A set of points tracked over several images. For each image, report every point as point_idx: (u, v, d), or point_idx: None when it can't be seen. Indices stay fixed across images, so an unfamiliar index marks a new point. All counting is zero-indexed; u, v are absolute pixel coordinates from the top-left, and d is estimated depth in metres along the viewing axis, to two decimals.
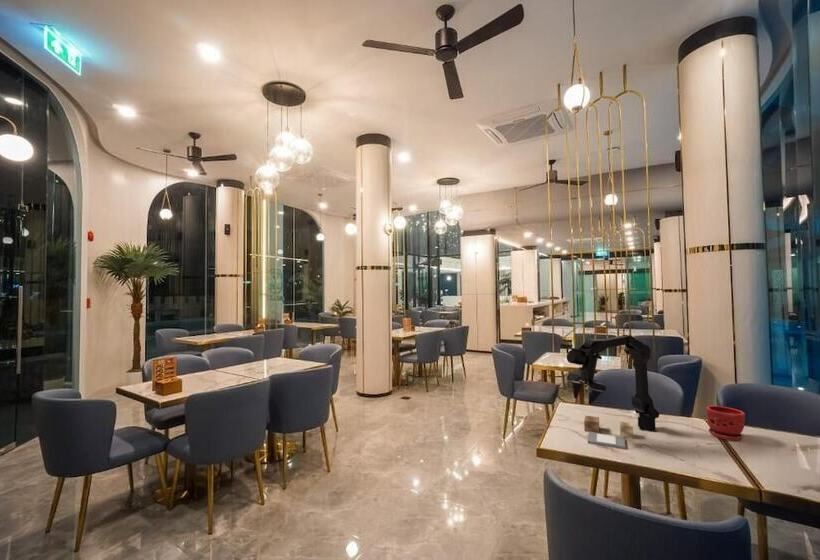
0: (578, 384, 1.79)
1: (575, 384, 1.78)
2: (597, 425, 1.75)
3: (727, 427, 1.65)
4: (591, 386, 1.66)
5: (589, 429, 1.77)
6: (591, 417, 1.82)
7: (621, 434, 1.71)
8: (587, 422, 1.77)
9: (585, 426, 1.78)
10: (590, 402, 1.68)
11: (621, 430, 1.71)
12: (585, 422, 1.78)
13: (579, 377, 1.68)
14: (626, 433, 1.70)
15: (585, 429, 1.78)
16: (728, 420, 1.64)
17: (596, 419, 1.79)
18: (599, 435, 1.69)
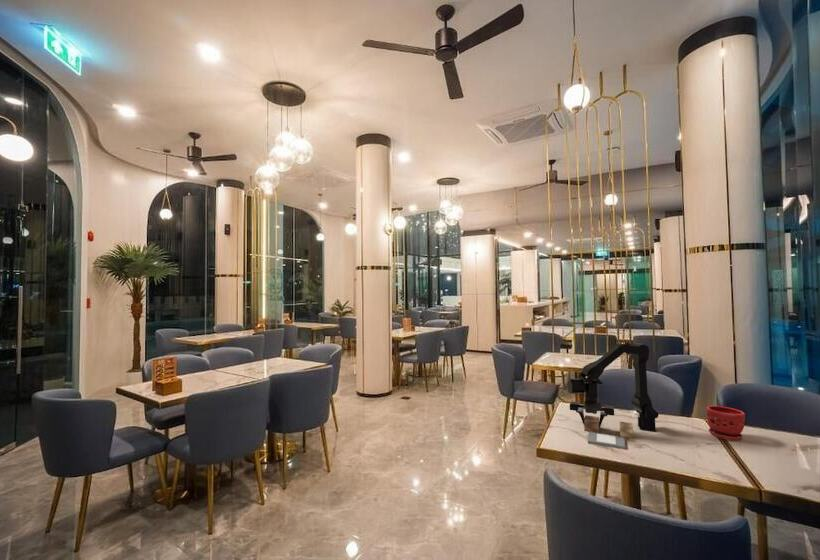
0: (583, 411, 1.82)
1: (583, 413, 1.81)
2: (597, 425, 1.75)
3: (727, 427, 1.65)
4: (608, 413, 1.74)
5: (589, 428, 1.77)
6: (591, 417, 1.82)
7: (621, 434, 1.71)
8: (587, 422, 1.77)
9: (585, 426, 1.77)
10: (600, 425, 1.78)
11: (621, 430, 1.71)
12: (585, 422, 1.77)
13: (600, 409, 1.72)
14: (626, 433, 1.70)
15: (585, 429, 1.77)
16: (728, 420, 1.64)
17: (596, 419, 1.79)
18: (599, 435, 1.69)
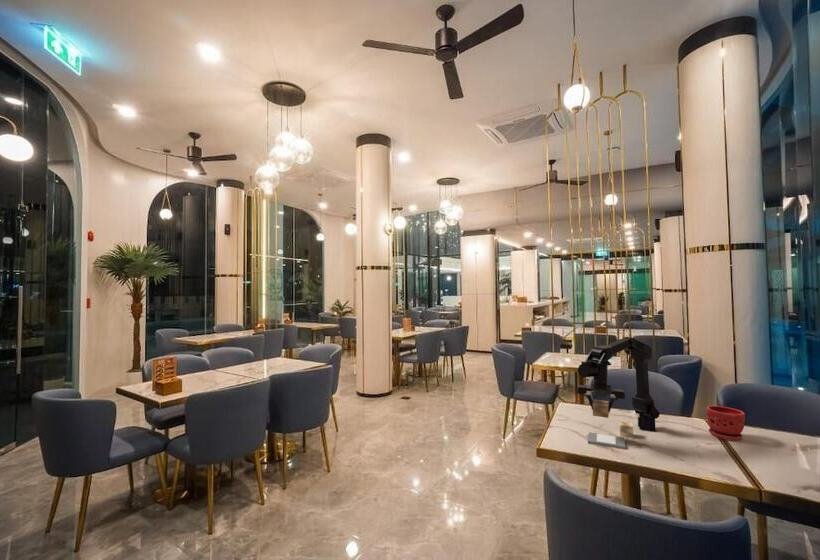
0: (591, 395, 1.72)
1: (591, 396, 1.71)
2: (606, 409, 1.65)
3: (727, 427, 1.65)
4: (618, 396, 1.64)
5: (598, 413, 1.67)
6: (600, 401, 1.72)
7: (621, 434, 1.71)
8: (596, 406, 1.67)
9: (593, 410, 1.67)
10: None
11: (621, 430, 1.71)
12: (594, 406, 1.67)
13: (610, 392, 1.62)
14: (626, 433, 1.70)
15: (593, 413, 1.67)
16: (728, 420, 1.64)
17: (605, 403, 1.69)
18: (599, 435, 1.69)
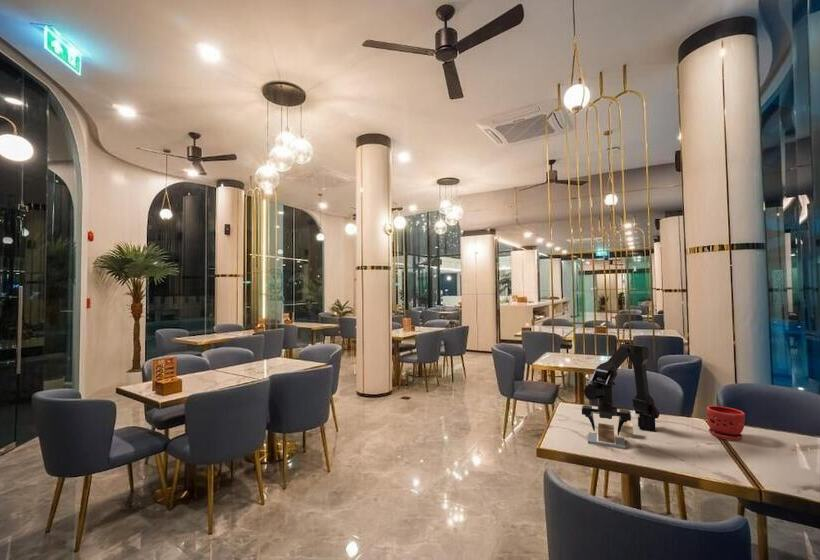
0: (592, 415, 1.69)
1: (592, 417, 1.67)
2: (612, 434, 1.61)
3: (727, 427, 1.65)
4: (624, 418, 1.60)
5: (603, 438, 1.62)
6: (606, 425, 1.68)
7: (621, 434, 1.71)
8: (601, 431, 1.63)
9: (599, 435, 1.63)
10: (619, 432, 1.63)
11: (621, 430, 1.71)
12: (599, 431, 1.63)
13: (616, 414, 1.58)
14: (626, 433, 1.70)
15: (599, 438, 1.63)
16: (728, 420, 1.64)
17: (611, 427, 1.65)
18: None
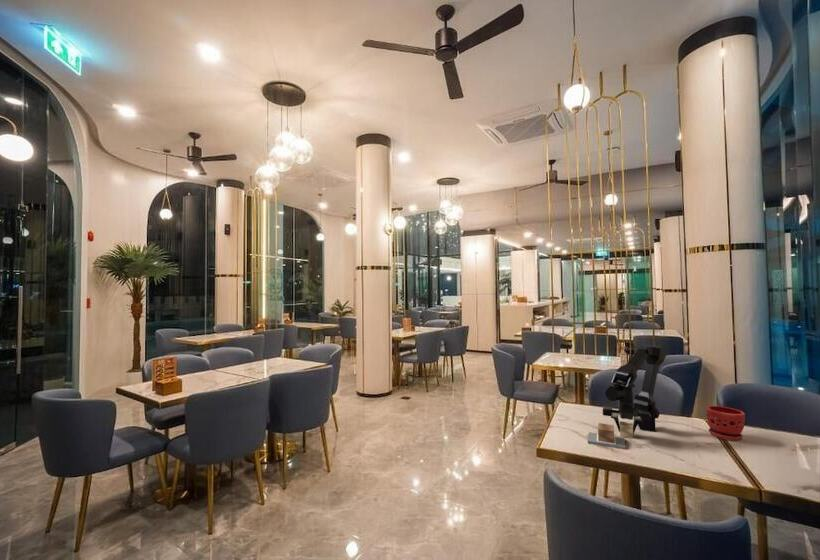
0: None
1: None
2: (612, 434, 1.61)
3: (727, 427, 1.65)
4: (644, 419, 1.67)
5: (603, 438, 1.62)
6: (606, 425, 1.68)
7: (621, 434, 1.71)
8: (601, 431, 1.63)
9: (599, 435, 1.63)
10: (634, 431, 1.71)
11: (621, 430, 1.71)
12: (599, 431, 1.63)
13: (636, 415, 1.65)
14: (626, 433, 1.70)
15: (599, 438, 1.63)
16: (728, 420, 1.64)
17: (611, 427, 1.65)
18: None
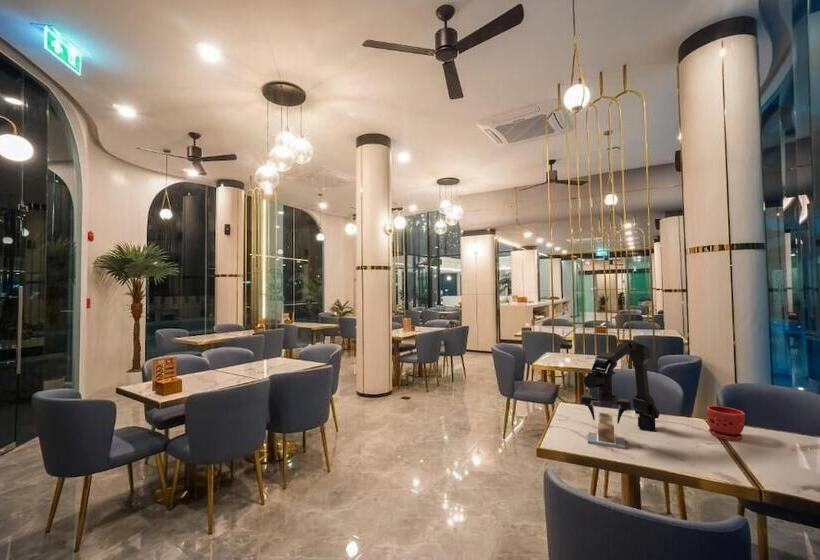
0: (592, 404, 1.69)
1: (592, 406, 1.68)
2: (612, 434, 1.61)
3: (727, 427, 1.65)
4: (624, 407, 1.60)
5: (603, 438, 1.62)
6: None
7: (600, 426, 1.64)
8: (601, 431, 1.63)
9: (599, 435, 1.63)
10: None
11: (600, 421, 1.64)
12: (599, 431, 1.63)
13: (615, 402, 1.58)
14: (605, 424, 1.64)
15: (599, 438, 1.63)
16: (728, 420, 1.64)
17: None
18: None
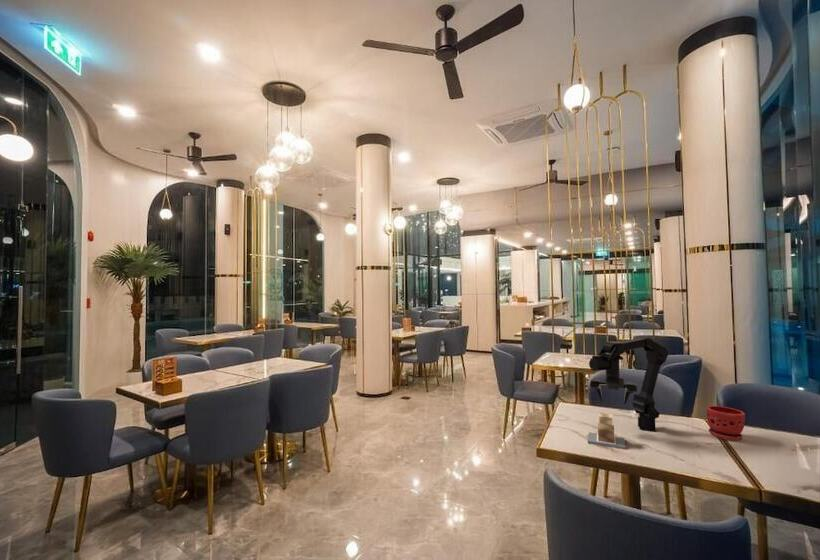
0: (600, 388, 1.79)
1: (600, 389, 1.78)
2: (612, 434, 1.61)
3: (727, 427, 1.65)
4: (630, 389, 1.70)
5: (603, 438, 1.62)
6: None
7: (600, 426, 1.64)
8: (601, 431, 1.63)
9: (599, 435, 1.63)
10: (625, 403, 1.74)
11: (600, 421, 1.64)
12: (599, 431, 1.63)
13: (622, 385, 1.68)
14: (605, 424, 1.64)
15: (599, 438, 1.63)
16: (728, 420, 1.64)
17: None
18: None
